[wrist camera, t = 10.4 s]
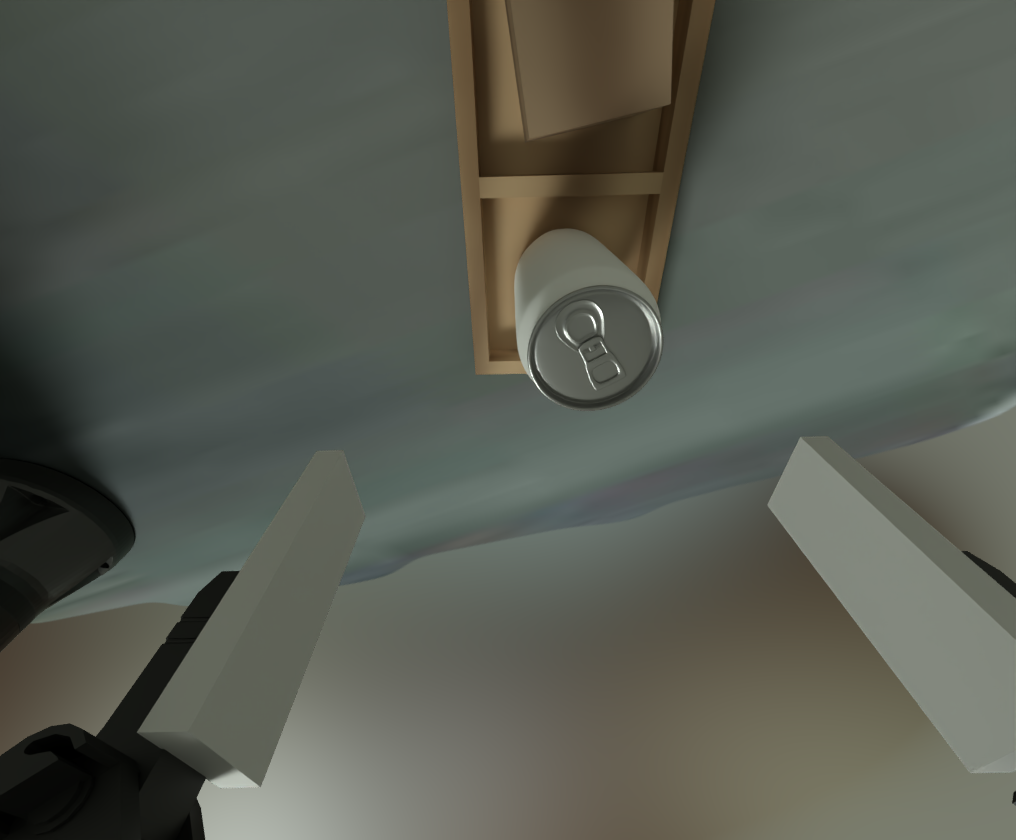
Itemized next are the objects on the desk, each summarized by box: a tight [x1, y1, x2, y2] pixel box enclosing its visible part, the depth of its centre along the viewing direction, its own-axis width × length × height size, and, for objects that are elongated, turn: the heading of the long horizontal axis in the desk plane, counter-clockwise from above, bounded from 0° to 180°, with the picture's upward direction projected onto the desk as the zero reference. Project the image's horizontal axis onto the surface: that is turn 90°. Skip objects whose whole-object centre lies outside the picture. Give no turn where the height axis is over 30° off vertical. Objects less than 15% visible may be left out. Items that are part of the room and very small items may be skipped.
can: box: [514, 228, 663, 411], centre depth 21 cm, size 6×6×12 cm
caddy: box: [447, 0, 715, 375], centre depth 22 cm, size 12×23×3 cm, turn 1°
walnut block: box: [505, 0, 674, 143], centre depth 17 cm, size 6×6×6 cm
